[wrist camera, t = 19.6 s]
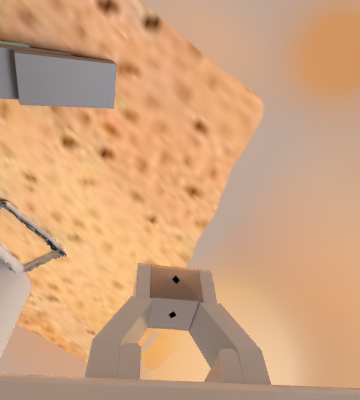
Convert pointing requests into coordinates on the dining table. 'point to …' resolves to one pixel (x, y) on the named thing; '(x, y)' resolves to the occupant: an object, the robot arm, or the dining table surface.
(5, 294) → the cylinder vase
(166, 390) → the robot arm
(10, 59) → the domino
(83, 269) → the dining table surface
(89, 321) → the dining table surface
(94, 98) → the domino
